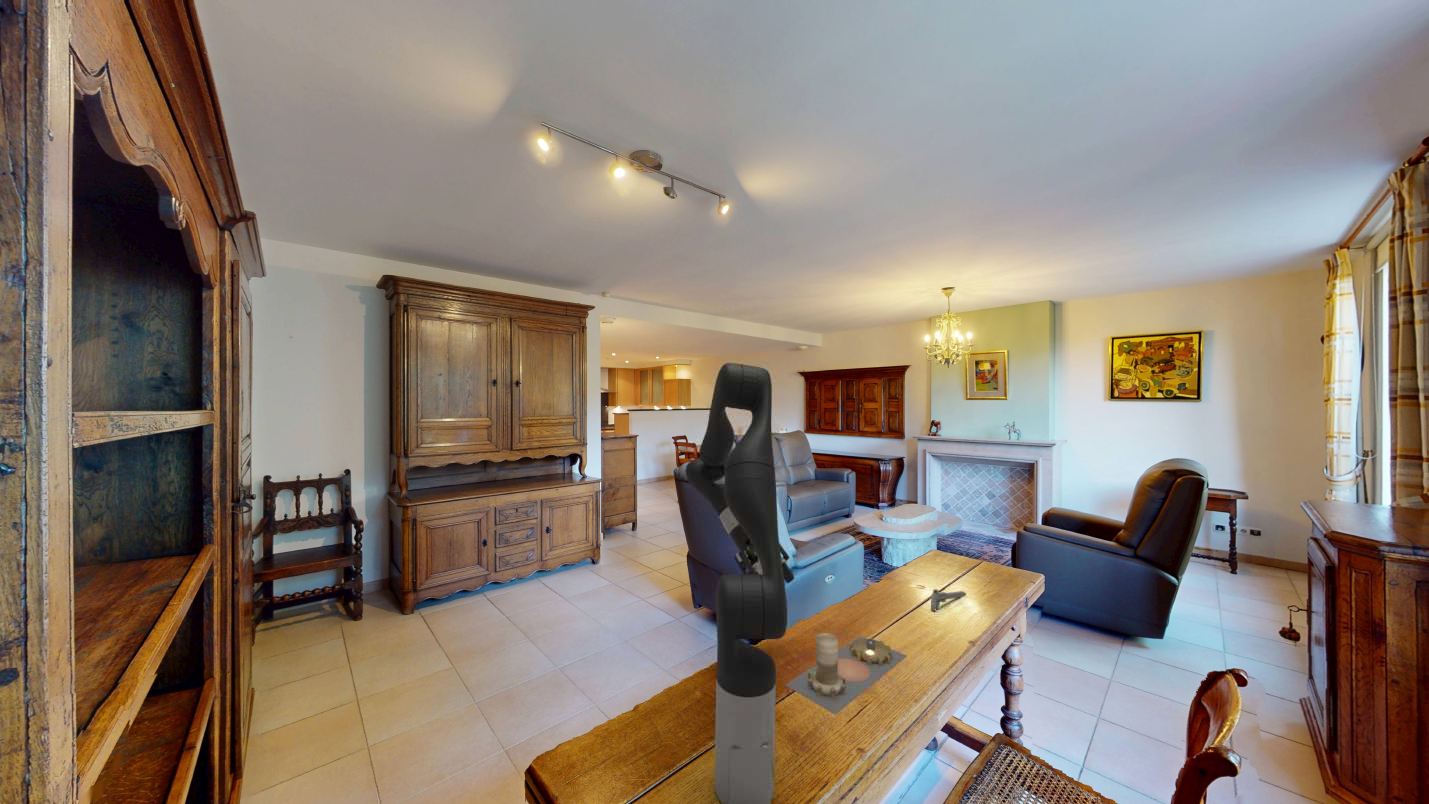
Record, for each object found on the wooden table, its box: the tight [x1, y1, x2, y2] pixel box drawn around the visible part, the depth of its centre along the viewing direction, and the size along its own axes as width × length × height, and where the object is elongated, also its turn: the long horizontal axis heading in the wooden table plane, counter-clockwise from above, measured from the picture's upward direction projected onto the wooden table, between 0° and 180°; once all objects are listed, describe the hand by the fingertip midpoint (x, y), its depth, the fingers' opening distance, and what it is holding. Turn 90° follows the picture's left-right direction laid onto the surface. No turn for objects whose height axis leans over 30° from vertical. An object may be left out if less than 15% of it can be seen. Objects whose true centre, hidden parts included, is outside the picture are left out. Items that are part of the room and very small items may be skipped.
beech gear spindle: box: [808, 632, 846, 699], centre depth 97 cm, size 8×8×10 cm
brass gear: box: [849, 636, 892, 666], centre depth 110 cm, size 9×9×3 cm
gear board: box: [785, 635, 908, 715], centre depth 104 cm, size 30×12×2 cm, turn 133°
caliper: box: [930, 588, 967, 612], centre depth 142 cm, size 20×1×6 cm, turn 128°
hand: (780, 586), depth 105 cm, fingers open, 8 cm apart
